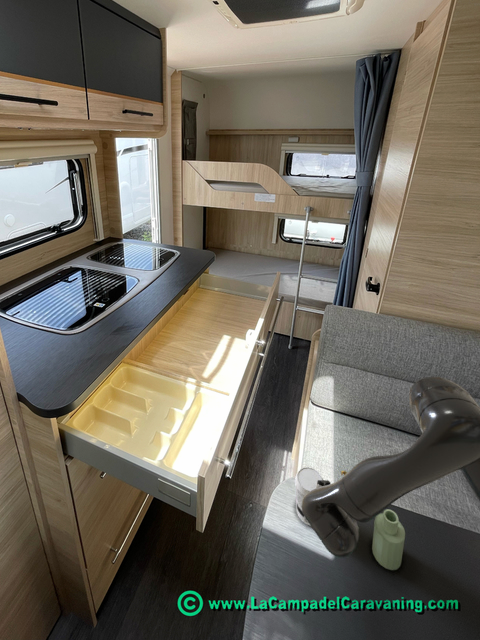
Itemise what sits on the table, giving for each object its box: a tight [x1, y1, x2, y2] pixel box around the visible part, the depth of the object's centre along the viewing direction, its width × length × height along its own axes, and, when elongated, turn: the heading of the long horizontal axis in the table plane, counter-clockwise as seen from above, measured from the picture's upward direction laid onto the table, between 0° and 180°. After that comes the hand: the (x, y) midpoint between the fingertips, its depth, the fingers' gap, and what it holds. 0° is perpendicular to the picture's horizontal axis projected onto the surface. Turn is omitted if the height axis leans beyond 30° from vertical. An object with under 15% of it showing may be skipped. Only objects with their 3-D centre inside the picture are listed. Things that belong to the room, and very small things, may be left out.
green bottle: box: [371, 508, 406, 571], centre depth 84 cm, size 7×7×16 cm
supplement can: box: [294, 466, 324, 527], centre depth 96 cm, size 8×8×15 cm
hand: (348, 492), depth 89 cm, fingers closed on vegetable, 4 cm apart
